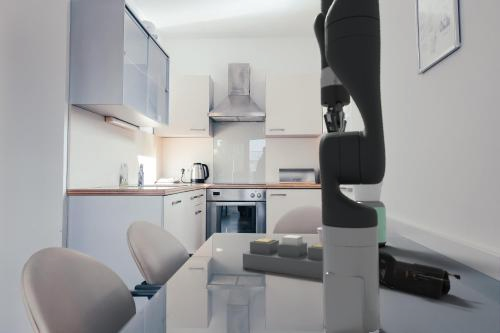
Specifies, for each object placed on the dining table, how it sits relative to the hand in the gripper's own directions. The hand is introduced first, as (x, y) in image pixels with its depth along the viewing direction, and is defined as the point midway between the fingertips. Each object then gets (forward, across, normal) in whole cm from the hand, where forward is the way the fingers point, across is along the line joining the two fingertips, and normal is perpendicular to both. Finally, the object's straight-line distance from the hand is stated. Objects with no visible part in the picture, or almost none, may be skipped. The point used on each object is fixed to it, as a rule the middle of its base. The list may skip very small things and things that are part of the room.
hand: (336, 152), depth 88 cm
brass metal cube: (+28, +3, +5) cm, 29 cm away
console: (+32, +3, +14) cm, 35 cm away
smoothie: (+32, +19, +9) cm, 38 cm away
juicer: (+32, +49, +2) cm, 59 cm away
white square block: (+26, +3, +14) cm, 30 cm away
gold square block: (+28, +3, +23) cm, 36 cm away
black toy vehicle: (+32, 0, -14) cm, 35 cm away
